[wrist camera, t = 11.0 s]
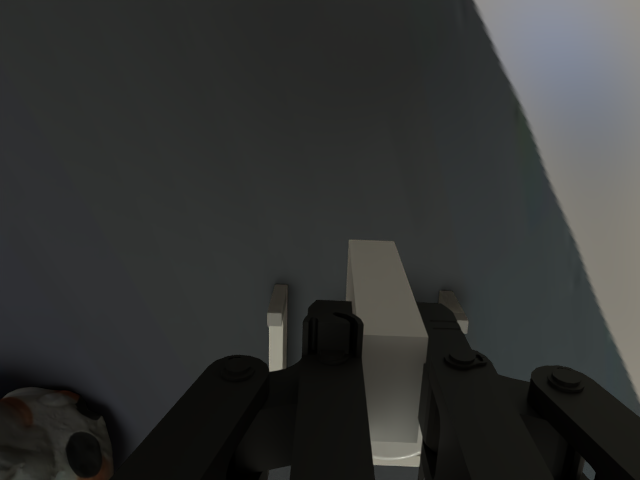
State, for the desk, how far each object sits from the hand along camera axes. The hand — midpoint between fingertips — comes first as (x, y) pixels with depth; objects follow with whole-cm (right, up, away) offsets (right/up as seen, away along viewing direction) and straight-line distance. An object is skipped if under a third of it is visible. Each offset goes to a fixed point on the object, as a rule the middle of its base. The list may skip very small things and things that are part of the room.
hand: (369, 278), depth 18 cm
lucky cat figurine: (-27, -16, +29) cm, 43 cm away
